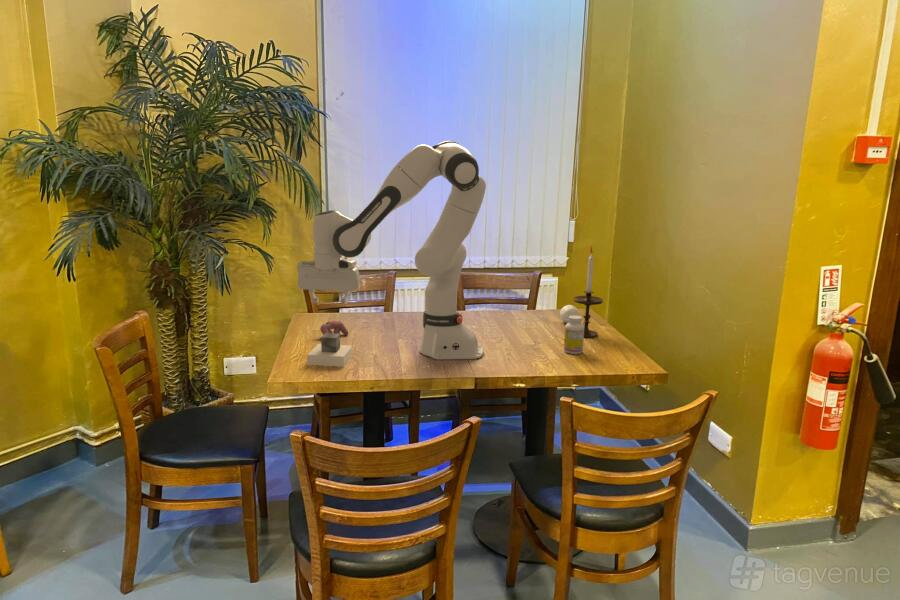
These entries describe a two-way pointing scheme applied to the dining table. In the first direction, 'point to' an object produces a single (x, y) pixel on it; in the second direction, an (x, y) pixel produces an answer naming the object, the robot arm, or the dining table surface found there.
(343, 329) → the video game controller
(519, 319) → the dining table surface
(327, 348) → the slate cube
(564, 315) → the geometric ball
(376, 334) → the dining table surface
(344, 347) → the cream block
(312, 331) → the dining table surface
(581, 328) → the supplement bottle
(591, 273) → the candlestick
